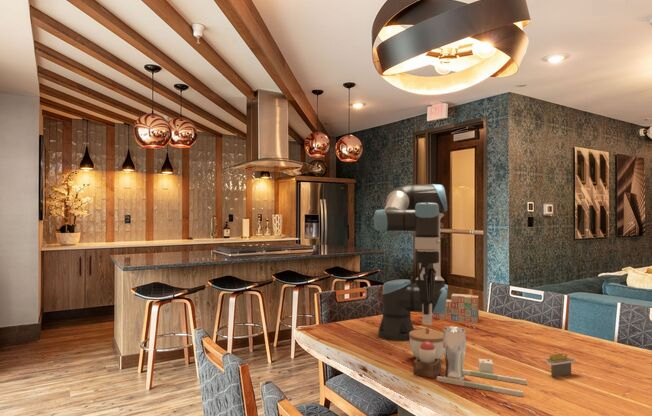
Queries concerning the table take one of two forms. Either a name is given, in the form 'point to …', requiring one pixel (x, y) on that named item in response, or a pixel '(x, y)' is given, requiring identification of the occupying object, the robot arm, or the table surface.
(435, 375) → the button housing
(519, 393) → the track
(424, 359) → the dome button
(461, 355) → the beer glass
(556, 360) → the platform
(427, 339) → the lidded bowl
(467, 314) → the stack of blocks
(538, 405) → the table surface
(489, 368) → the die
